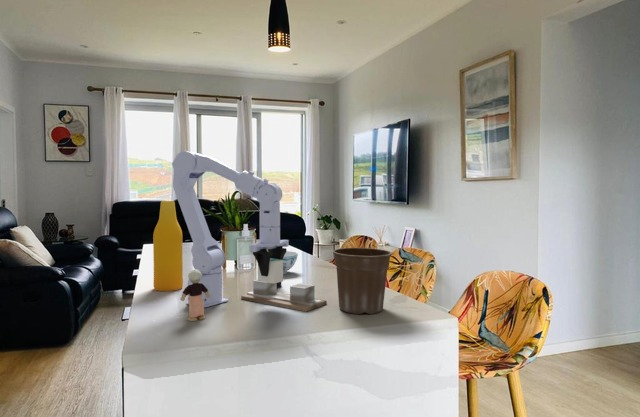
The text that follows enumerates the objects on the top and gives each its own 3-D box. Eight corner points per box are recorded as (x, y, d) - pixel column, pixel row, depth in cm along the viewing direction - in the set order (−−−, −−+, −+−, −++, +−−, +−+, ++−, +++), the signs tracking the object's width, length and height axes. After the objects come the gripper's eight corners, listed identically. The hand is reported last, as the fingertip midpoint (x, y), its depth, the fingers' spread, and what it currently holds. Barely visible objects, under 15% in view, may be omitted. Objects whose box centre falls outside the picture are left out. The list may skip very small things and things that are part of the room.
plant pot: (400, 306, 129) (400, 250, 128) (377, 320, 115) (377, 257, 114) (348, 299, 137) (349, 246, 136) (321, 311, 123) (322, 252, 122)
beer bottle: (153, 292, 144) (152, 201, 143) (154, 286, 153) (153, 200, 152) (183, 290, 147) (182, 201, 146) (182, 284, 156) (182, 200, 155)
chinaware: (302, 270, 184) (303, 252, 184) (289, 277, 170) (289, 257, 170) (269, 268, 189) (269, 250, 188) (253, 275, 174) (253, 255, 174)
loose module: (273, 283, 125) (273, 260, 124) (257, 281, 128) (257, 258, 128) (283, 281, 128) (283, 259, 128) (267, 278, 131) (267, 257, 131)
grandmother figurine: (203, 314, 119) (202, 266, 119) (212, 317, 117) (211, 268, 116) (177, 321, 113) (176, 270, 113) (186, 324, 111) (186, 272, 110)
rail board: (306, 311, 123) (306, 291, 122) (241, 299, 136) (241, 281, 136) (326, 303, 131) (326, 285, 131) (263, 293, 144) (263, 275, 144)
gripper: (263, 229, 119) (263, 280, 120) (296, 225, 131) (296, 272, 132) (243, 227, 123) (243, 277, 124) (278, 224, 135) (278, 269, 136)
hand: (269, 274), depth 128 cm, fingers closed on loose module, 4 cm apart
